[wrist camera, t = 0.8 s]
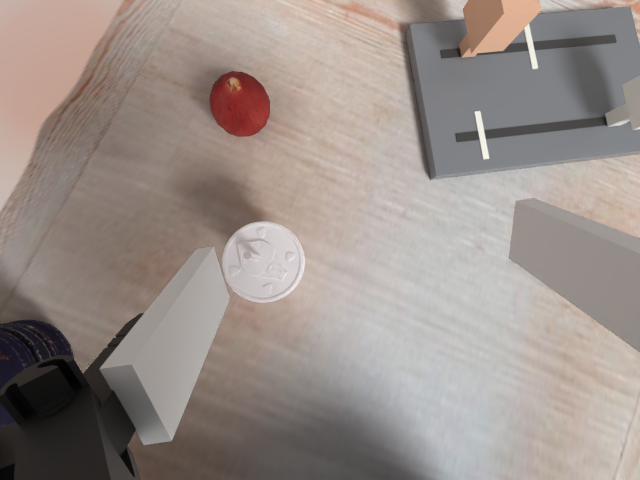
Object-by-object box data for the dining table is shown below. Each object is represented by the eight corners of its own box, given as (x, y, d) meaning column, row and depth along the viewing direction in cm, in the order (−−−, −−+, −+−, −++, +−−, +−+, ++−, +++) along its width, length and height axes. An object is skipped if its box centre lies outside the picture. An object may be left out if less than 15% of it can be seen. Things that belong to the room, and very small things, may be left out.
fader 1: (485, 69, 34) (541, 10, 26) (456, 72, 34) (504, 13, 26) (477, 29, 35) (530, -42, 27) (448, 31, 34) (493, -40, 26)
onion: (209, 123, 33) (181, 79, 25) (245, 88, 34) (228, 34, 26) (248, 158, 33) (232, 124, 25) (283, 122, 34) (278, 78, 26)
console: (649, 152, 37) (665, 147, 35) (430, 179, 35) (437, 175, 33) (617, 16, 38) (631, 5, 37) (405, 34, 36) (410, 23, 34)
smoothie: (266, 222, 33) (242, 189, 19) (314, 255, 33) (325, 246, 19) (232, 270, 32) (180, 274, 18) (281, 304, 32) (267, 333, 18)
